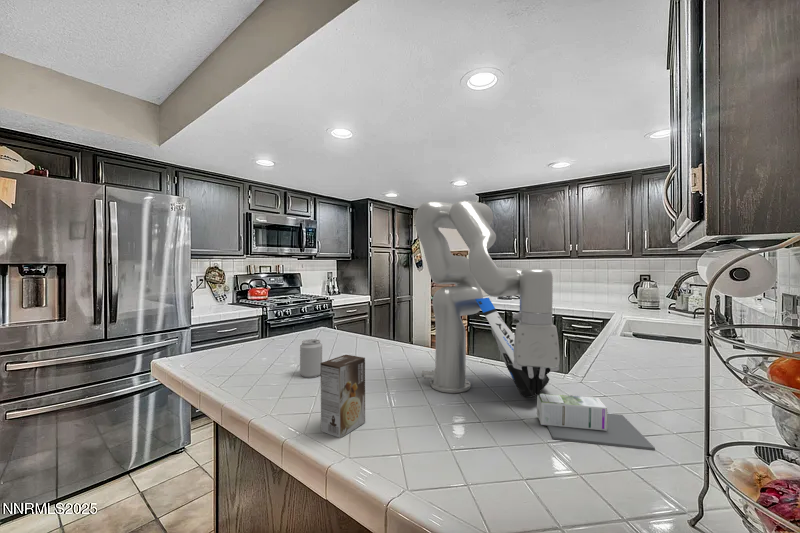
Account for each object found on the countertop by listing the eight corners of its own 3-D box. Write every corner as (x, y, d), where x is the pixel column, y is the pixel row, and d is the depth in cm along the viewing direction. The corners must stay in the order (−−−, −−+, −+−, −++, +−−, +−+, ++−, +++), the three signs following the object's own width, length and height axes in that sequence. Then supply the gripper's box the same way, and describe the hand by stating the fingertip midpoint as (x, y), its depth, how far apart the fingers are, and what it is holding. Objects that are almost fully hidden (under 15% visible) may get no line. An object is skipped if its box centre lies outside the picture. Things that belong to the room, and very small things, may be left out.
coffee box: (345, 416, 86) (346, 353, 86) (366, 422, 83) (366, 357, 83) (319, 431, 79) (319, 362, 78) (340, 439, 75) (340, 366, 75)
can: (326, 373, 119) (326, 339, 119) (310, 380, 113) (310, 344, 113) (311, 370, 123) (311, 337, 123) (295, 375, 117) (295, 341, 117)
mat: (552, 439, 76) (552, 437, 76) (539, 409, 91) (539, 407, 91) (654, 450, 71) (655, 447, 71) (622, 416, 87) (622, 414, 87)
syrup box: (540, 425, 81) (607, 432, 78) (541, 401, 81) (608, 407, 78) (536, 414, 87) (598, 420, 84) (536, 391, 86) (599, 397, 83)
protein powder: (549, 370, 111) (500, 291, 119) (549, 390, 89) (489, 291, 97) (523, 382, 114) (477, 304, 122) (517, 404, 92) (461, 307, 100)
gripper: (505, 320, 82) (504, 396, 82) (572, 322, 78) (572, 401, 79) (502, 315, 89) (502, 385, 89) (564, 317, 86) (564, 390, 86)
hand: (535, 392), depth 84 cm, fingers closed
